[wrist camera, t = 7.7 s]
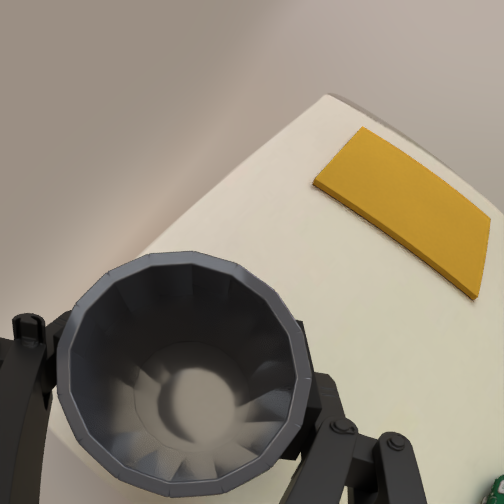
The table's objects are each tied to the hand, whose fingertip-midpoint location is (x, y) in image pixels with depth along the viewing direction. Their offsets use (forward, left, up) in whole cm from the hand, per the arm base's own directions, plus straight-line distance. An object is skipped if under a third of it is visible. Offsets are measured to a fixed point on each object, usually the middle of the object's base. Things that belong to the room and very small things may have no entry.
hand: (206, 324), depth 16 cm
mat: (+8, +25, -6) cm, 27 cm away
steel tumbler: (+1, -3, -4) cm, 5 cm away
